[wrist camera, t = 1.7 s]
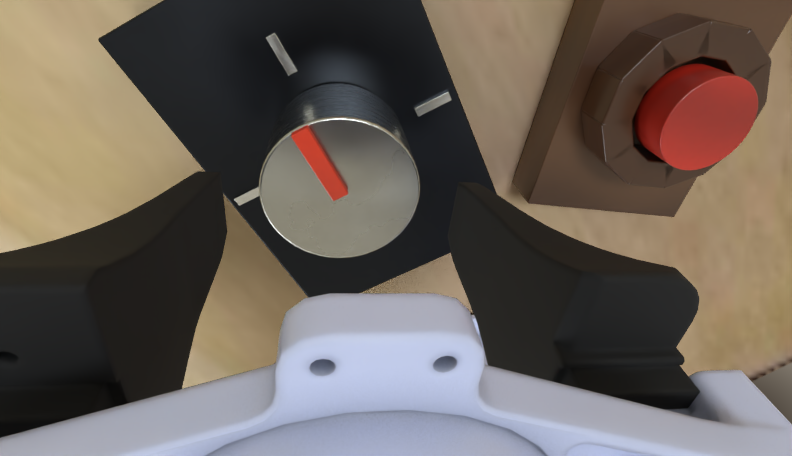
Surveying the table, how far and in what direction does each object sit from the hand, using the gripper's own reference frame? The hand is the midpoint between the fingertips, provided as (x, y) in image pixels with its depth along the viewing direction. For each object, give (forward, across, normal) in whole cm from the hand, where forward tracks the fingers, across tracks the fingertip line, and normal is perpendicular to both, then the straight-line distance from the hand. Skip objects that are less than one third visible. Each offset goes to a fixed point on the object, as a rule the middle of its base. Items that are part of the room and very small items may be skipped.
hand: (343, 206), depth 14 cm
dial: (+4, 0, 0) cm, 4 cm away
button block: (+8, -13, -3) cm, 15 cm away
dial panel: (+8, 0, 0) cm, 8 cm away
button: (+4, -13, -3) cm, 14 cm away
